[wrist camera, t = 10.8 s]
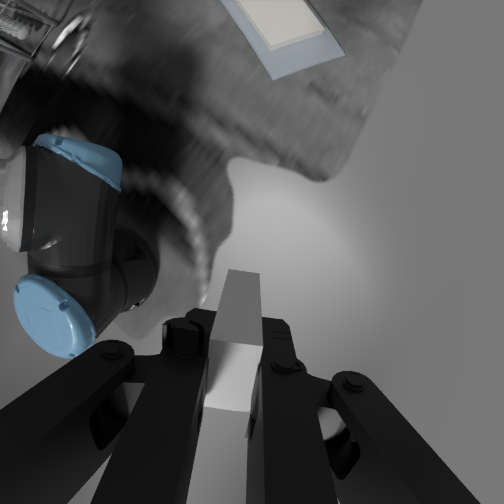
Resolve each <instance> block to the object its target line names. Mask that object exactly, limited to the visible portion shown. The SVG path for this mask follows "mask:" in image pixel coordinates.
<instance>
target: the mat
mask: <svg viewBox="0 0 504 504" xmlns="http://www.w3.org/2000/svg"><path fill="white" fill-rule="evenodd" d="M303 1H304V2H305V3H306V5H307V6H308V7H309V9H310V10H311V11H312V12H313V14H314V15H315V16H316V18H317V19H318V21H319V22H320V23H321V25H322V26H323V27H324V31H323V33H322V35H319V36H315V37H312V38H309V39H305V40H302V41H299V42H296V43H293V44H290V45H287V46H284V47H281V48H278V49H275V50H273V51H269V49H268V48H267V46H266V45H265V43H264V42H263V40H262V39H261V37H260V36H259V34H258V33H257V31H256V30H255V28H254V27H253V25H252V24H251V22H250V21H249V20H248V18H247V17H246V15H245V14H244V13H243V11H242V10H241V9H240V7H239V6H238V5H237V3H236V2H235V1H234V0H221V2H222V4H223V5H224V6H225V8H226V9H227V11H228V12H229V13H230V15H231V16H232V18H233V19H234V21H235V22H236V23H237V25H238V26H239V28H240V29H241V31H242V32H243V34H244V35H245V37H246V38H247V40H248V41H249V43H250V44H251V46H252V47H253V49H254V51H255V52H256V54H257V55H258V57H259V58H260V60H261V62H262V63H263V65H264V67H265V68H266V70H267V71H268V73H269V75H270V76H271V78H272V80H273V81H274V80H277V79H279V78H282V77H284V76H287V75H290V74H292V73H295V72H298V71H300V70H303V69H306V68H309V67H312V66H315V65H318V64H321V63H324V62H327V61H330V60H333V59H337V58H340V57H343V56H345V53H344V52H343V50H342V48H341V47H340V45H339V44H338V42H337V41H336V39H335V38H334V36H333V35H332V34H331V32H330V31H329V29H328V28H327V26H326V25H325V24H324V22H323V21H322V19H321V18H320V17H319V15H318V14H317V13H316V11H315V10H314V9H313V8H312V6H311V5H310V4H309V2H308V1H307V0H303Z"/></svg>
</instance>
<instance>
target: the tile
mask: <svg viewBox="0 0 504 504" xmlns="http://www.w3.org/2000/svg"><path fill="white" fill-rule="evenodd" d="M234 1H235V2H236V3H237V5H238V6H239V7H240V9H241V10H242V11H243V13H244V14H245V15H246V17H247V18H248V20H249V21H250V22H251V24H252V25H253V27H254V28H255V30H256V31H257V33H258V34H259V36H260V37H261V39H262V40H263V42H264V43H265V45H266V46H267V48H268V49H269V51H273V50H275V49H278V48H281V47H284V46H287V45H290V44H293V43H296V42H299V41H302V40H305V39H309V38H312V37H315V36H319V35H322V33H323V31H324V27H323V26H322V25H321V23H320V22H319V21H318V19H317V18H316V16H315V15H314V14H313V12H312V11H311V10H310V9H309V7H308V6H307V5H306V3H305V2H304V1H303V0H234Z"/></svg>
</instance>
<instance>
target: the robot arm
mask: <svg viewBox="0 0 504 504" xmlns="http://www.w3.org/2000/svg"><path fill="white" fill-rule="evenodd" d="M34 144H35V146H21V147H20V148H18V149H17V150H16V151H15V152H14V153H13V154H12V155H11V156H10V157H8V158H7V159H0V239H2V240H4V241H5V242H6V243H7V244H8V245H9V246H10V247H11V248H12V249H13V250H14V251H15V252H25V251H27V259H28V274H26V275H24V276H22V277H21V279H20V281H19V282H18V284H17V285H16V287H15V290H14V305H15V309H16V313H17V316H18V318H19V320H20V322H21V324H22V326H23V327H24V329H25V331H26V332H27V333H28V334H29V335H30V337H31V338H32V339H33V340H34V341H35V342H36V343H37V344H38V345H39V346H40V347H41V348H43V349H44V350H45V351H47V352H49V353H51V354H53V355H55V356H58V357H62V358H74V357H75V358H74V359H73V360H71V361H70V362H68V363H67V364H66V365H64V366H62V367H61V368H59V369H58V370H57V371H55V372H54V373H52V374H51V375H49V376H48V377H46V378H45V379H44V380H42V381H41V382H39V383H38V384H37V385H35V386H34V387H32V388H31V389H29V390H28V391H26V392H25V393H24V394H22V395H21V396H19V397H18V398H16V399H15V400H14V401H12V402H11V403H9V404H8V405H7V406H5V407H4V408H3V409H1V410H0V504H67V503H68V502H69V501H70V500H71V499H72V498H73V496H74V495H75V494H76V493H77V492H78V491H79V490H80V489H81V488H82V486H83V485H84V484H85V483H86V482H87V481H88V480H89V479H90V477H91V476H92V475H93V474H94V473H95V472H96V471H97V470H98V469H99V467H100V466H101V465H102V464H103V463H104V462H105V461H106V459H107V458H108V457H109V456H110V455H111V454H112V455H111V457H110V459H109V462H108V464H107V466H106V468H105V471H104V473H103V475H102V477H101V480H100V482H99V484H98V487H97V489H96V492H95V494H94V496H93V499H92V501H91V503H90V504H186V501H187V496H188V490H189V485H190V479H191V474H192V469H193V463H194V458H195V453H196V447H197V442H198V437H199V432H200V427H201V422H202V415H203V406H206V407H213V408H219V409H226V410H234V411H243V412H249V411H250V407H251V414H250V418H249V422H248V427H247V431H246V435H245V437H246V438H248V449H247V450H248V452H247V484H246V504H338V500H339V502H340V504H480V503H479V501H478V500H477V499H476V498H475V497H474V496H473V495H472V493H471V492H470V491H469V490H468V489H467V488H466V487H465V486H464V484H463V483H462V482H461V481H460V480H459V479H458V478H457V476H456V475H455V474H454V473H453V472H452V471H451V470H450V469H449V467H448V466H447V465H446V464H445V463H444V462H443V461H442V459H441V458H440V457H439V456H438V455H437V454H436V453H435V451H434V450H433V449H432V448H431V447H430V446H429V445H428V444H427V443H426V441H425V440H424V439H423V438H422V437H421V436H420V435H419V434H418V433H417V431H416V430H415V429H414V428H413V427H412V426H411V424H410V423H409V422H408V421H407V420H406V419H405V418H404V417H403V415H402V414H401V413H400V412H399V411H398V410H397V409H396V408H395V406H394V405H393V404H392V403H391V402H390V401H389V400H388V399H387V397H386V396H385V395H384V394H383V393H382V392H381V391H380V390H379V388H378V387H377V386H376V385H375V384H374V383H373V382H372V381H371V380H370V379H369V378H368V377H366V376H365V375H362V374H360V373H357V372H353V371H342V372H339V373H336V374H335V375H334V376H333V378H332V381H329V380H325V379H321V378H317V377H314V376H312V375H310V374H308V373H307V370H306V367H305V365H304V364H303V363H302V362H301V361H300V360H298V359H297V358H296V353H295V349H294V345H293V341H292V336H291V331H290V327H289V325H288V324H287V323H286V322H285V321H284V320H283V319H274V318H266V317H262V315H261V297H260V278H259V274H258V273H252V272H244V271H238V270H231V269H229V270H228V274H227V277H226V281H225V284H224V288H223V292H222V296H221V299H220V303H219V306H218V310H217V311H210V310H203V309H198V308H194V309H192V310H191V311H189V312H187V314H186V316H185V318H183V317H180V318H173V319H170V320H167V321H166V322H165V323H164V324H162V325H163V326H162V327H163V328H162V350H161V353H160V354H157V355H148V356H144V355H134V350H133V348H132V347H131V346H130V345H128V344H127V343H125V342H122V341H119V340H105V341H101V342H98V343H96V344H94V343H95V340H96V339H97V338H98V337H99V335H100V334H101V333H102V332H103V331H104V330H105V329H106V328H107V326H108V325H109V324H110V323H111V322H112V321H113V320H114V319H115V318H116V317H117V316H118V314H119V313H123V312H126V311H130V310H133V309H135V308H137V307H139V306H140V305H141V304H143V303H144V302H145V300H146V299H147V298H148V297H149V296H150V294H151V293H152V291H153V289H154V287H155V283H156V277H157V269H156V263H155V259H154V256H153V254H152V252H151V250H150V248H149V247H148V245H147V244H146V242H145V241H144V240H143V239H142V238H141V237H140V236H139V235H137V234H136V233H135V232H133V231H131V230H129V229H126V228H123V227H115V222H116V214H117V206H118V199H119V193H121V188H120V181H121V173H122V160H121V158H120V156H119V155H118V154H117V153H116V152H114V151H112V150H110V149H108V148H106V147H103V146H100V145H97V144H93V143H90V142H86V141H82V140H78V139H74V138H69V137H62V136H57V135H52V134H41V135H39V136H38V137H37V140H36V141H35V143H34ZM93 344H94V345H93ZM92 345H93V346H92ZM91 346H92V347H91ZM88 347H90V348H89V349H87V348H88ZM86 349H87V350H86ZM85 350H86V351H85ZM76 356H77V357H76ZM337 498H338V500H337Z"/></svg>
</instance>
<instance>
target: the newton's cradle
mask: <svg viewBox="0 0 504 504" xmlns="http://www.w3.org/2000/svg"><path fill="white" fill-rule="evenodd" d="M10 1H12V2H15V3H17V4H18V5H20V6H22V7H23V8H25V9H27V10H28V11H30V12H32V13H33V14H32V13H29V12H26V11H23V10H20V9H17V8H14V7H12V6H10V5H9V2H10ZM0 6H3V7H4V8H3V9H1V8H0V9H1V10H2V11H1V12H0V16H1V14H2V12H4V11H3V10H4V9H5V8H7V9H9V10H11V11H14V12H16V13H19V14H22V15H25V16H28V17H30V18H33V19H36V20H38V21H41V22H43V23H46V24H48V25H51V26H52V27H51V28H50V30H51V29H52V28H53V27H56V26H57V25H58V23H57V22H56V21H54V20H53V19H51V18H50V17H48V16H47V15H45V14H44V13H42V12H41V11H39V10H38V9H36V8H35V7H33V6H31V5H30V4H28V3H27V2H25V1H23V0H9V1H8V3H5V2H3V1H1V0H0ZM14 12H13V13H14ZM4 13H5V12H4ZM13 13H12V14H11V16H12V15H13ZM5 14H6V13H5ZM2 15H3V14H2ZM6 15H7V14H6ZM7 16H8V15H7ZM7 16H4V15H3V17H2V16H1V17H0V29H1V30H3V31H7V33H8V34H12V35H13V36H15V37H18V39H20V40H23V39H26V38H27V37H28V36H29V35H30V34H31V27H30V26H29V25H25V24H24V23H21V22H20V23H19V22H18V21H17V20H13V19H12V18H10V17H11V16H10V17H9V16H8V17H9V18H8V17H7ZM1 30H0V32H1ZM50 30H49V31H48V32H47V34H48V33H49V32H50ZM47 34H46V35H45V36H44V38H43V39H42V40H41V42H40V43H39V45H38V46H37V48H38V47H39V46H40V44H41V43H42V41H43V40H44V39H45V37H46V36H47ZM0 43H1V44H0V50H1V51H4V52H6V53H9V54H12V55H14V56H17V57H19V58H22V59H24V60H26V61H29V62H31V61H33V57H32V56H33V54H34V53H35V51H36V50H37V48H36V49H35V51H34V52H33V54H32V55H31V56H30V55H28V54H26V53H25V52H23V51H21V50H20V49H18V48H16V47H14V46H13V45H11V44H9V43H7V42H6V41H4V40H2V39H0Z"/></svg>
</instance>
